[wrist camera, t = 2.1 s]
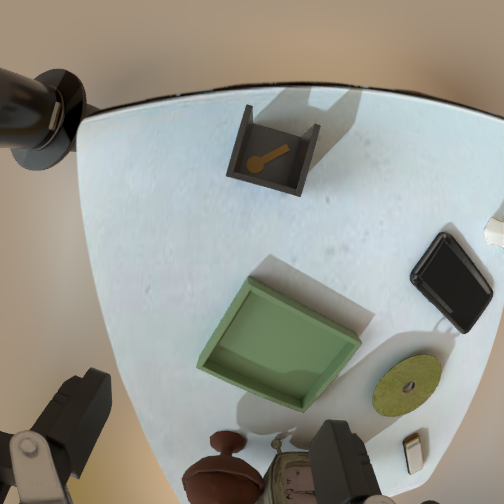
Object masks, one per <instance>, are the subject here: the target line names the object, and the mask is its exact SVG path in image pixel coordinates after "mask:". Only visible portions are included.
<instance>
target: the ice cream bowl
mask: <svg viewBox="0 0 504 504" xmlns="http://www.w3.org/2000/svg"><path fill="white" fill-rule="evenodd" d="M210 444H211V447H213V448H214V449H215V450H216V451H218V452H221V454H220V455H217V456H208V457H205V458H202V459H201V460H199V461H198V462H196V463H195V464H193V465H192V466H190V467H189V468H188V469H187V470H186V471H185V473H184V475H183V477H182V482H183V487H184V490H185V491H186V494H187V498H188V501H189V502H190V503H191V504H255V503H256V502H257V500H258V499H259V498H260V496H261V495H262V493H263V490H264V482H263V479H262V476H261V475H260V474H259V472H258V471H257V470H256V469H254V468H253V467H252V466H250V465H249V464H248V463H247V462H245V461H244V460H242V459H240V458H236V457H232V453H238V452H239V451H240V450H242V449H243V448H244V446H245V439H244V438H243V437H242V436H240V435H239V434H238V433H234V432H230V431H221V432H216V433H215V434H213V435H212V436H211V437H210Z"/></svg>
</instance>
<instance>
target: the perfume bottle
mask: <svg viewBox="0 0 504 504" xmlns="http://www.w3.org/2000/svg"><path fill="white" fill-rule="evenodd" d="M484 233H485V237H486V240H487V244H488V245H498V246H500V247H502V248H504V222H499V221H497V220H496V219H494V218H493V217H491V219H490V220H489V222H488V224H487V225H486V227H485V229H484Z"/></svg>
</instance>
